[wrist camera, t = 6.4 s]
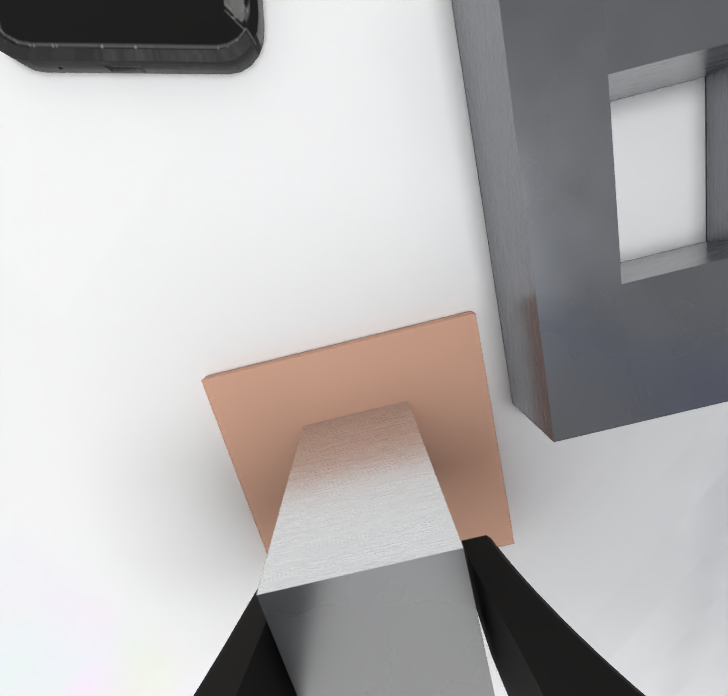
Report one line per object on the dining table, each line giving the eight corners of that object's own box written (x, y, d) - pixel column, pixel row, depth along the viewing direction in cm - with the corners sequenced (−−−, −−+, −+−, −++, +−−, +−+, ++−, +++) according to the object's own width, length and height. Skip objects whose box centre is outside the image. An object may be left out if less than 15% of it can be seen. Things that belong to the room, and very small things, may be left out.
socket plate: (770, 342, 14) (878, 365, 11) (512, 403, 14) (553, 441, 11) (788, -118, 11) (954, -259, 8) (447, -25, 11) (483, -126, 8)
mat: (509, 534, 16) (514, 543, 15) (285, 585, 16) (283, 596, 16) (470, 311, 13) (475, 313, 13) (206, 376, 14) (201, 380, 13)
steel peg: (428, 491, 15) (494, 697, 8) (330, 514, 15) (314, 736, 8) (407, 400, 14) (463, 547, 7) (303, 425, 14) (256, 595, 7)
